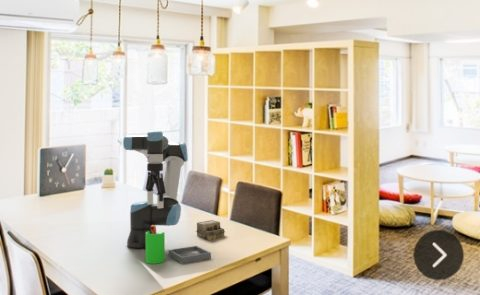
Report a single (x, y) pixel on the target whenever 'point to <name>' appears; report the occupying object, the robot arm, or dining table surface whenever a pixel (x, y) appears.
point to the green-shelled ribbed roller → (155, 246)
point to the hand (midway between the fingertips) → (155, 206)
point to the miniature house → (209, 230)
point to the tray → (189, 254)
